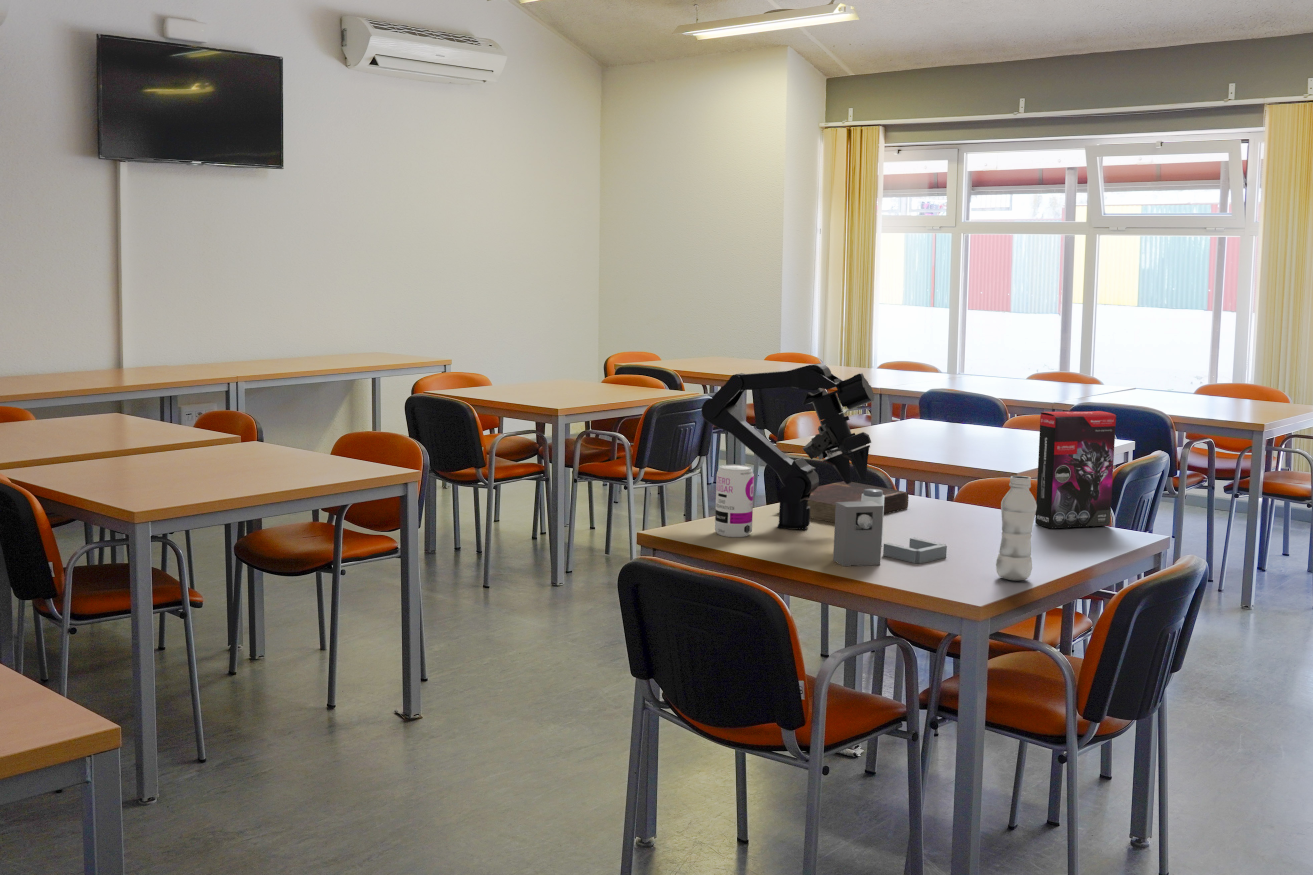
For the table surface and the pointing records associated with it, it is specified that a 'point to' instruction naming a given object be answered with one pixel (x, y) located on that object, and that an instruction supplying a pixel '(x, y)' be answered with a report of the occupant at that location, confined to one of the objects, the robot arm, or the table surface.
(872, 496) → the cylinder
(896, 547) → the cradle
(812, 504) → the hardback book
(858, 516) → the plunger
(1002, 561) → the plastic bottle
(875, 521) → the block
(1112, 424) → the graphics card box
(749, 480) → the supplement can
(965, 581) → the table surface
